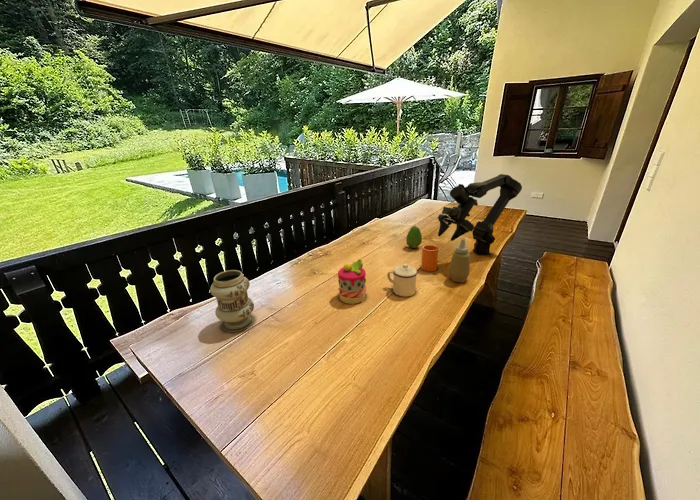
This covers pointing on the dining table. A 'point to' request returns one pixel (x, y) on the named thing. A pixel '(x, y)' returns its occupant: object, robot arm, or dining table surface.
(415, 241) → the avocado
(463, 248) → the squeeze bottle
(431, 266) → the orange cup
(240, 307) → the apothecary jar
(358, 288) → the cake
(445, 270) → the dining table surface
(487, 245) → the robot arm
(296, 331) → the dining table surface
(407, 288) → the teacup with lid
